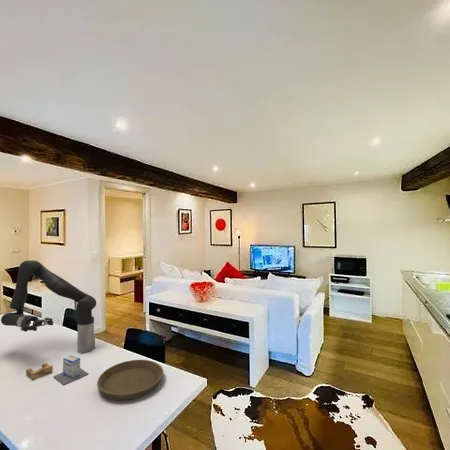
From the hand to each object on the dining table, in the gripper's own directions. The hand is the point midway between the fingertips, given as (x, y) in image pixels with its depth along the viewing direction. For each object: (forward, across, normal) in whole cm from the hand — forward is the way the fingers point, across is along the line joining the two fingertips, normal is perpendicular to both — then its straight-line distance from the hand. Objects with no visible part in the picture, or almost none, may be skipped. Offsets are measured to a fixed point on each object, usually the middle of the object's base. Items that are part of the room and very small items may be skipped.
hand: (44, 326), depth 144 cm
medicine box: (+21, +1, +23) cm, 31 cm away
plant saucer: (+54, +10, +25) cm, 61 cm away
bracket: (+4, -5, +23) cm, 24 cm away
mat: (+21, +1, +23) cm, 32 cm away
